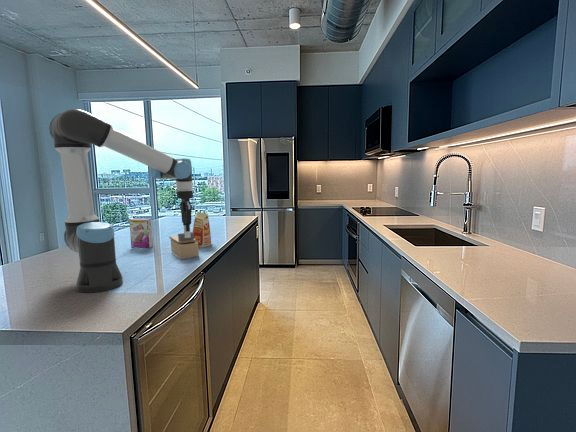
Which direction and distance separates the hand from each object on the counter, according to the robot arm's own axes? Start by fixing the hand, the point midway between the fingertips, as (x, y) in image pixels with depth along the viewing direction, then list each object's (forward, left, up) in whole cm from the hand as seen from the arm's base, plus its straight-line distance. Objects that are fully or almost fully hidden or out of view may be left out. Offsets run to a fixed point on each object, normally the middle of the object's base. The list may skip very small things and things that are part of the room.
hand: (187, 237), depth 162 cm
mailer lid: (0, +9, -3) cm, 9 cm away
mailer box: (0, +6, -10) cm, 12 cm away
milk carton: (+15, +22, -10) cm, 29 cm away
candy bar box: (-15, +38, -10) cm, 42 cm away
